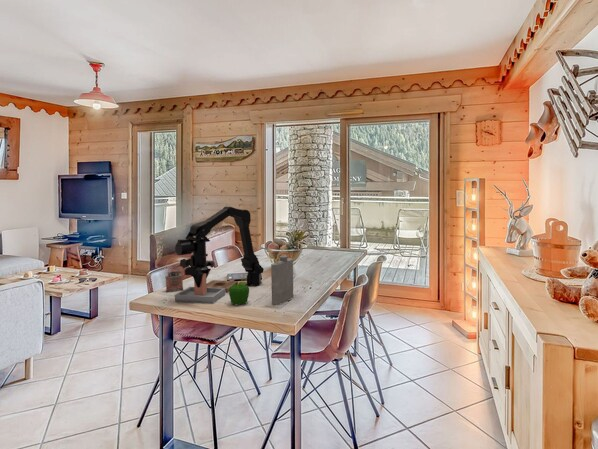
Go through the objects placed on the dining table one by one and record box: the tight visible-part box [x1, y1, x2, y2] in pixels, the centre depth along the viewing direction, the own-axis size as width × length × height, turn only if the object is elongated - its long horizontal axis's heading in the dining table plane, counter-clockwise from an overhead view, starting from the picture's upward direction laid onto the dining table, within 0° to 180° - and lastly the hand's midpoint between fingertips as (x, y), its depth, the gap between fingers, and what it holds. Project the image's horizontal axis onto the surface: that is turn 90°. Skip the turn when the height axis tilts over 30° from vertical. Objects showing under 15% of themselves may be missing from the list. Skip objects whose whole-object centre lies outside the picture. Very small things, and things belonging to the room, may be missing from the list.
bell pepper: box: [228, 280, 250, 306], centre depth 156 cm, size 8×8×10 cm
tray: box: [174, 286, 226, 305], centre depth 165 cm, size 18×14×3 cm
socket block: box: [206, 279, 239, 294], centre depth 181 cm, size 14×14×2 cm
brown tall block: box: [193, 273, 208, 295], centre depth 164 cm, size 4×4×9 cm
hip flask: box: [270, 254, 294, 306], centre depth 160 cm, size 16×4×20 cm, turn 152°
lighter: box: [165, 269, 184, 293], centre depth 176 cm, size 8×3×10 cm, turn 118°
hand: (200, 286), depth 164 cm, fingers closed on brown tall block, 4 cm apart
